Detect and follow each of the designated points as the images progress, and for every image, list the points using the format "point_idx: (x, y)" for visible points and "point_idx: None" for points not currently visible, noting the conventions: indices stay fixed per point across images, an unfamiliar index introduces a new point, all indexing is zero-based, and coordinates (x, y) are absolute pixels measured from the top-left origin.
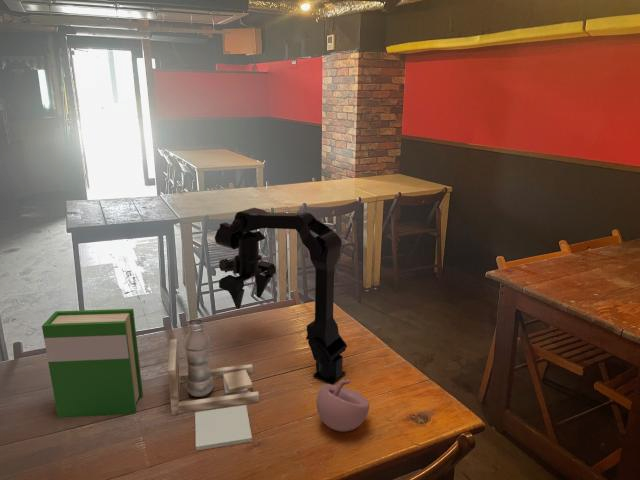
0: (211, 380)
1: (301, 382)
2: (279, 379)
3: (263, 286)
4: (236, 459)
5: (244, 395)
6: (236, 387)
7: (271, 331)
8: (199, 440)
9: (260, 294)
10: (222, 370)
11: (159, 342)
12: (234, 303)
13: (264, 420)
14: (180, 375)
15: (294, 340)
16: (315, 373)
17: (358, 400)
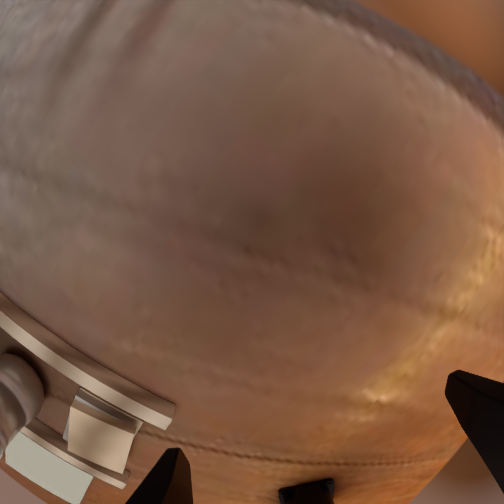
0: (29, 422)
1: (243, 489)
2: (210, 464)
3: (498, 480)
4: (53, 498)
5: (94, 473)
6: (84, 457)
7: (402, 246)
8: (10, 460)
9: (460, 420)
10: (79, 382)
11: (52, 33)
12: (144, 481)
13: (113, 498)
14: None
15: (398, 350)
16: (288, 490)
17: None
